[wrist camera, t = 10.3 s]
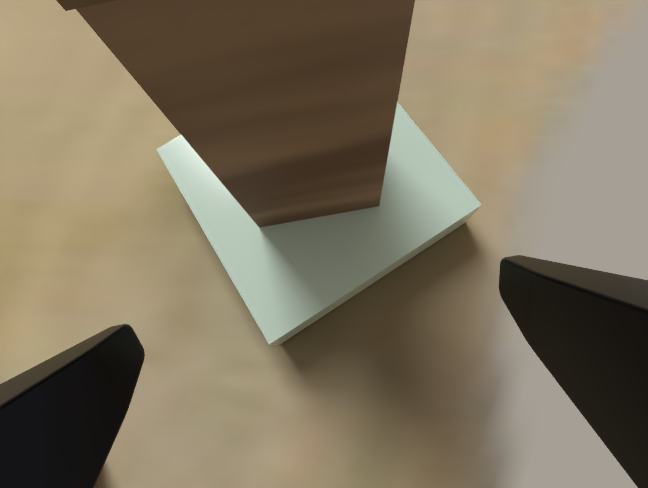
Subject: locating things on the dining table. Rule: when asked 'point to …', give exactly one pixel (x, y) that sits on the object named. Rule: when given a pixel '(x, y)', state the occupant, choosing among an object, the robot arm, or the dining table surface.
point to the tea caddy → (271, 91)
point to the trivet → (325, 232)
